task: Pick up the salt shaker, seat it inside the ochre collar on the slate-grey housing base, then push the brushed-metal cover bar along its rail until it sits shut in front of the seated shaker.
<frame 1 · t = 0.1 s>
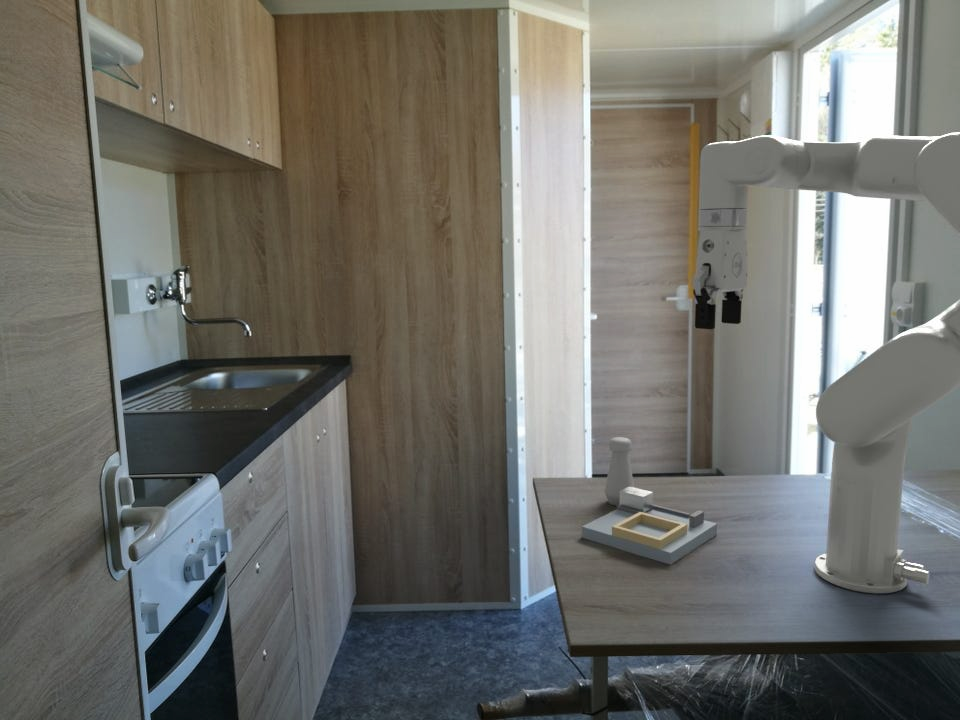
hand: (718, 325, 124), 37 cm above the table, tool pointing down, fingers open, 9 cm apart
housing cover: (636, 499, 137), point 4 cm above the table, slide at 0.0 cm
housing base: (649, 535, 130), on the table
salt shaker: (619, 503, 147), on the table
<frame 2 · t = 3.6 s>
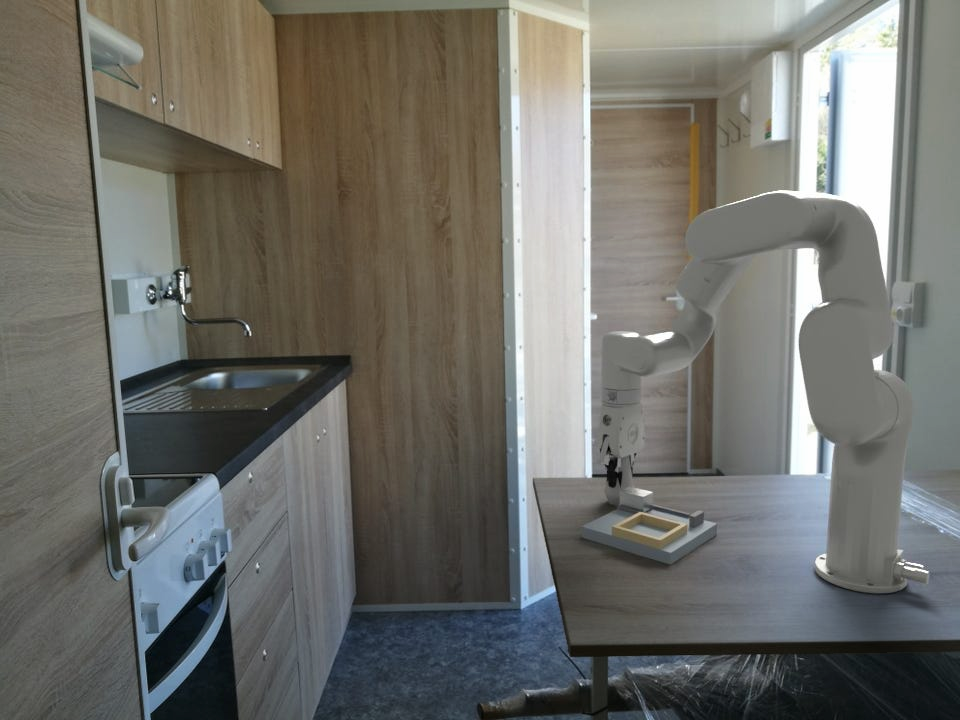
hand: (619, 486, 146), 3 cm above the table, tool pointing down, fingers closed on salt shaker, 3 cm apart
salt shaker: (619, 503, 147), on the table, touching gripper
everything else where it was.
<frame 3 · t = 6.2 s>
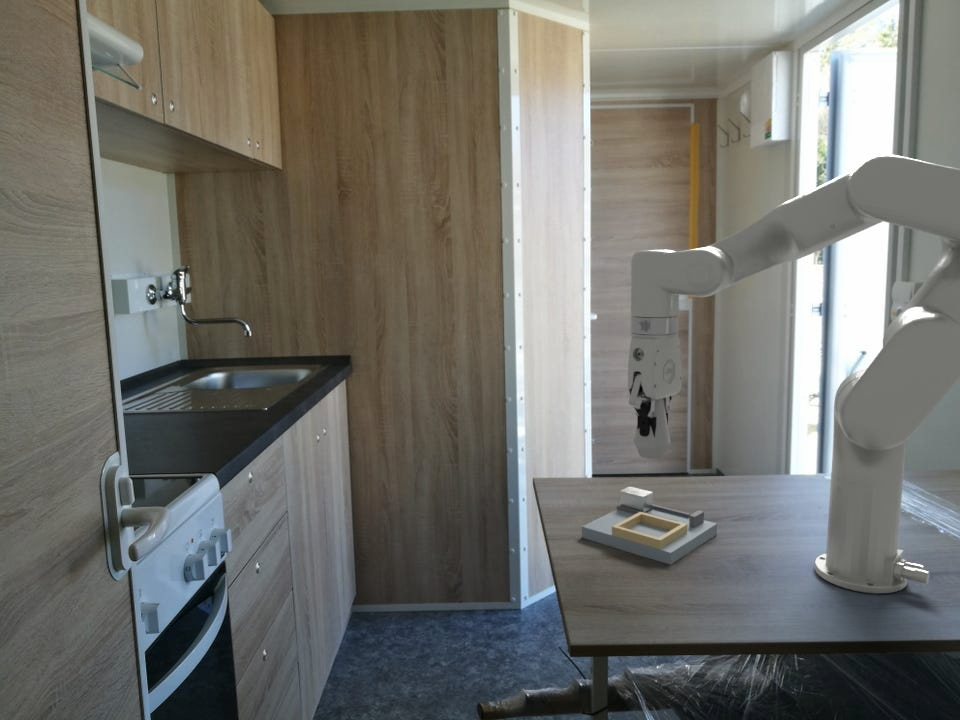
hand: (652, 436, 123), 19 cm above the table, tool pointing down, fingers closed on salt shaker, 3 cm apart
salt shaker: (651, 456, 124), point 15 cm above the table, touching gripper
everything else where it was.
when the fingers open (7 cm above the table, at t = 8.7 s): salt shaker drops 1 cm, resting on housing base.
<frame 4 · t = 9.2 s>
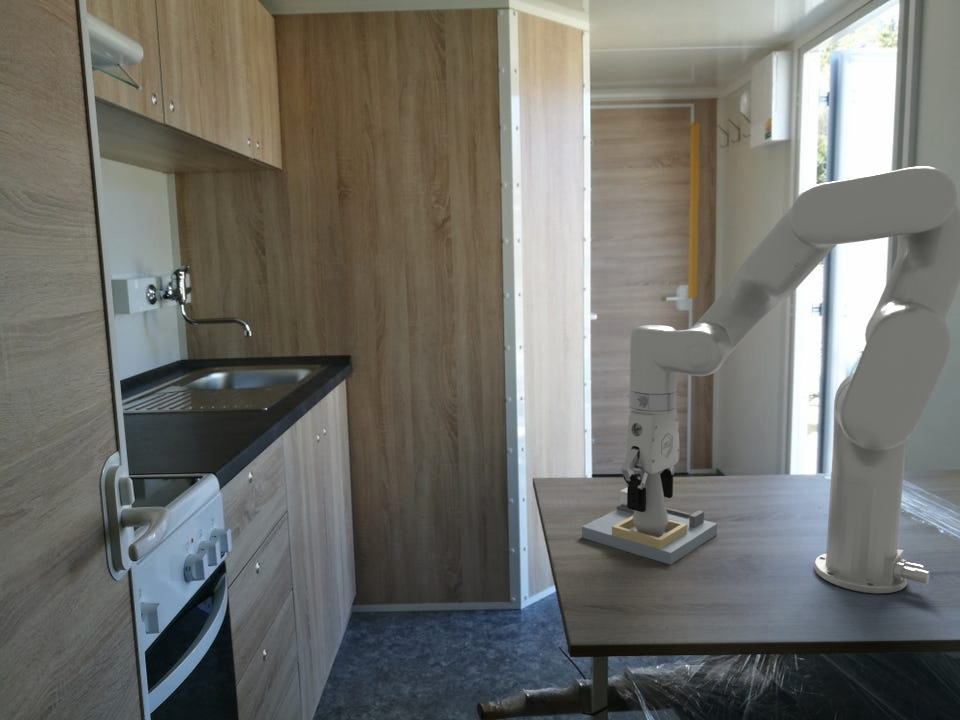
hand: (650, 502, 125), 8 cm above the table, tool pointing down, fingers open, 8 cm apart
salt shaker: (650, 534, 126), point 2 cm above the table, touching housing base
everything else where it was.
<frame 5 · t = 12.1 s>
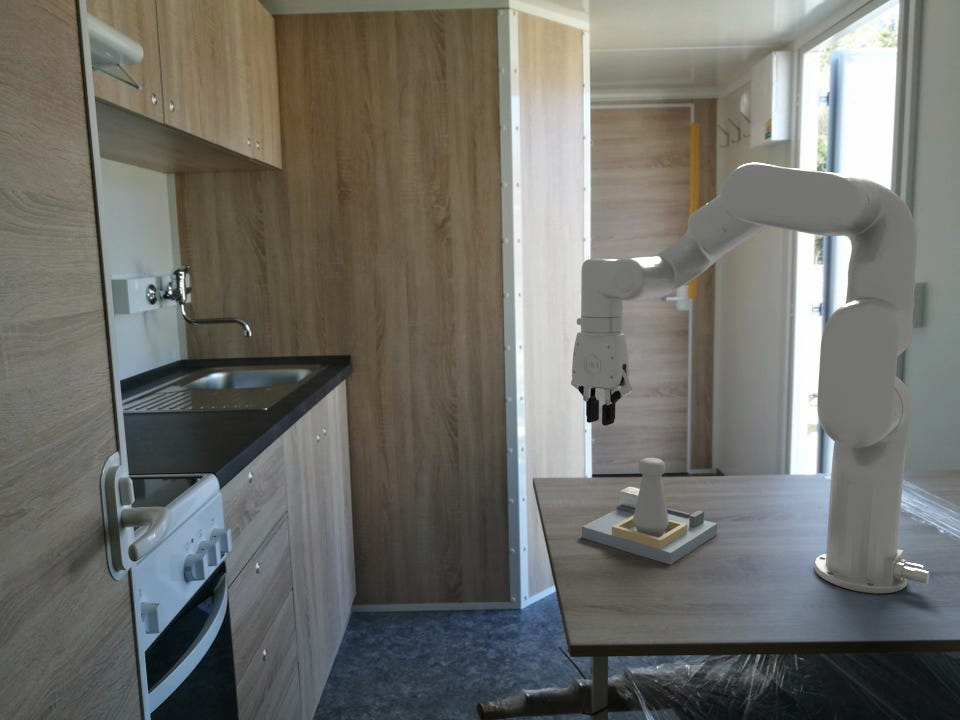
hand: (600, 421, 141), 17 cm above the table, tool pointing down, fingers closed
nothing on the table moved.
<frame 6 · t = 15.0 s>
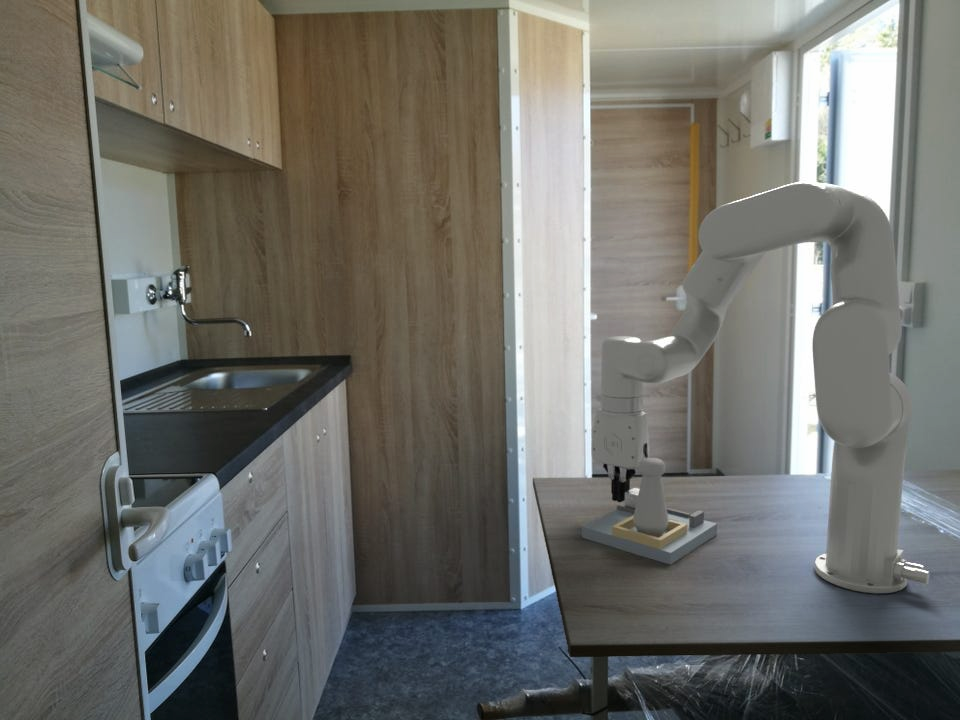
hand: (620, 499, 140), 3 cm above the table, tool pointing down, fingers closed
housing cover: (641, 500, 137), point 4 cm above the table, slide at 1.1 cm, touching gripper
everything else where it was.
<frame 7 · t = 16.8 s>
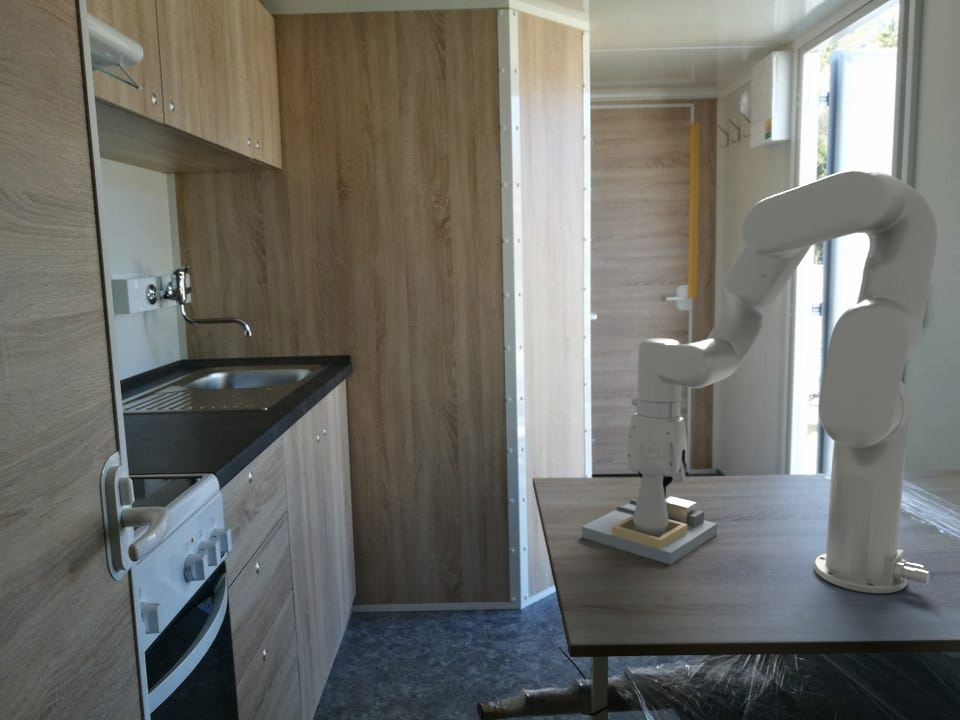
hand: (655, 507, 135), 3 cm above the table, tool pointing down, fingers closed
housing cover: (678, 509, 132), point 4 cm above the table, slide at 8.5 cm, touching gripper
everything else where it was.
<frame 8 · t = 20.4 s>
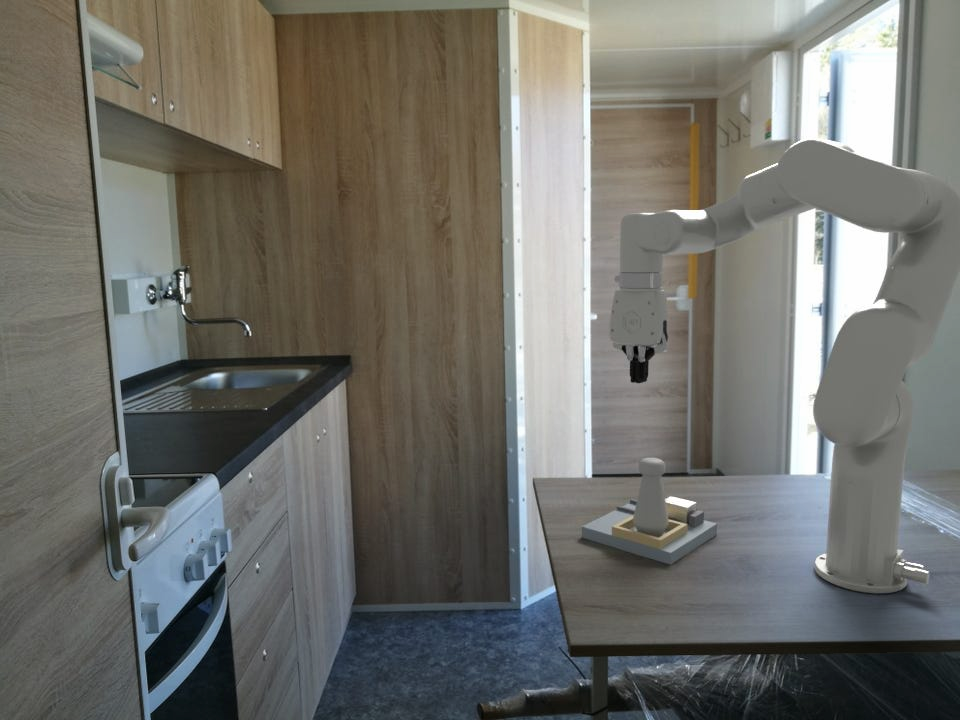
hand: (638, 381, 138), 25 cm above the table, tool pointing down, fingers closed
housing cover: (678, 509, 132), point 4 cm above the table, slide at 8.5 cm
everything else where it was.
at the end: salt shaker 0.2 cm from the target spot on the housing base, point 1.8 cm above the housing base's base; salt shaker tilted 0°; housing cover slide at 8.5 cm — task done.
